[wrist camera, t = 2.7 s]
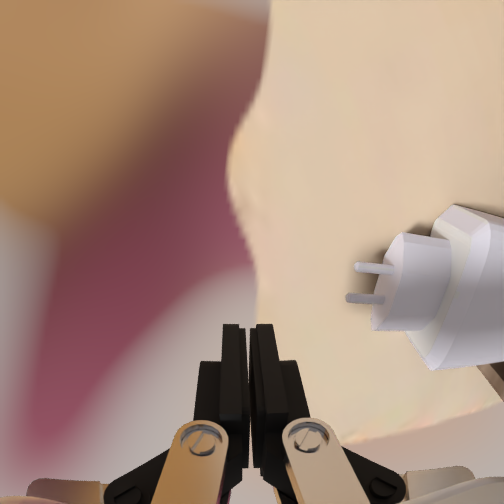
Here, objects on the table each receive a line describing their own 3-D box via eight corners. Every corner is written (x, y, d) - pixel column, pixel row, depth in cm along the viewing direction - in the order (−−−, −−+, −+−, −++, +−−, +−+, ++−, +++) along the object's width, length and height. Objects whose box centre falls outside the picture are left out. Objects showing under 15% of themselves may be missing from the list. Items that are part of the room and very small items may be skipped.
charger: (354, 180, 16) (525, 223, 17) (319, 330, 19) (486, 331, 20) (393, 201, 11) (568, 246, 12) (337, 383, 15) (517, 365, 16)
